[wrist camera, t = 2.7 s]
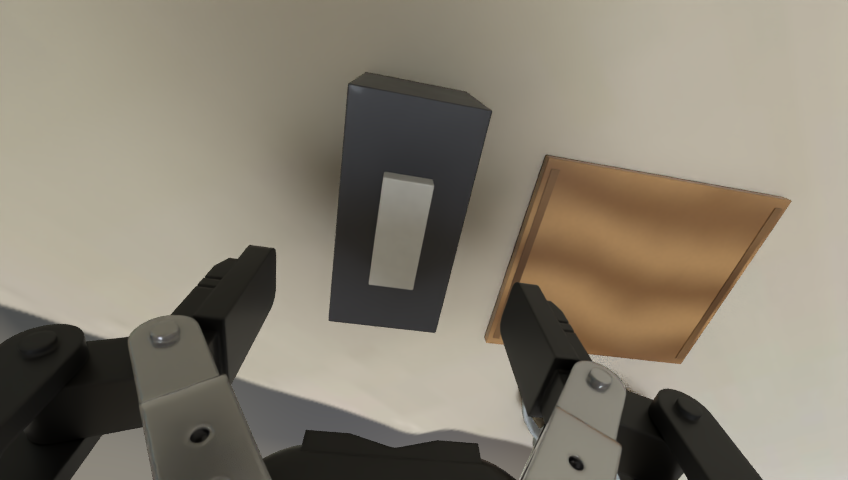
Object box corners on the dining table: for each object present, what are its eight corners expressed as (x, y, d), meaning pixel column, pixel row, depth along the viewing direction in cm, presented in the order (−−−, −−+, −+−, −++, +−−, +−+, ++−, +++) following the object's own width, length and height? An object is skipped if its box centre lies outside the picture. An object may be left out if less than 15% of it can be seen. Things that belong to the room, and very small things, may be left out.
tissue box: (365, 72, 19) (344, 85, 13) (467, 91, 20) (497, 114, 13) (346, 255, 24) (324, 332, 17) (428, 266, 25) (436, 344, 18)
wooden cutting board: (545, 154, 21) (549, 157, 21) (783, 197, 23) (793, 201, 23) (484, 337, 28) (486, 343, 27) (676, 358, 30) (681, 365, 29)
